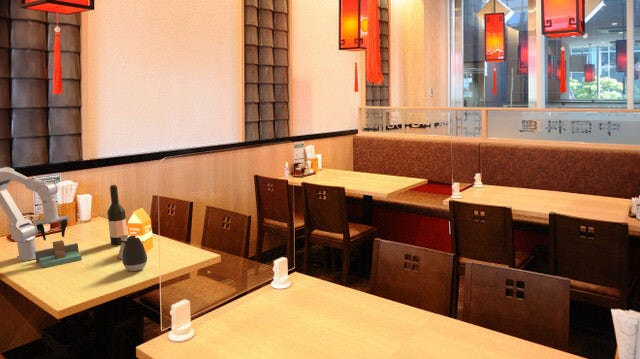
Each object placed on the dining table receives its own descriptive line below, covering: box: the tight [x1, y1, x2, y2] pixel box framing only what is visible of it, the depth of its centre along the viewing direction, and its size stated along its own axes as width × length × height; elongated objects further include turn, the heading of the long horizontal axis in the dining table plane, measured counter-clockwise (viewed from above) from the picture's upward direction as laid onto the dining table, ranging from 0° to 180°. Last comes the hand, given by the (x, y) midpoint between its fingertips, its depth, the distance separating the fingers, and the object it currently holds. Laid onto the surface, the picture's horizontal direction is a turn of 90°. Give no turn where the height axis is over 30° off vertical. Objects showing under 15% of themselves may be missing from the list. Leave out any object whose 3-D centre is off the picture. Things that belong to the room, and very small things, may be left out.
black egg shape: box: [121, 235, 148, 272], centre depth 220 cm, size 10×10×15 cm
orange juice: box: [126, 207, 154, 253], centre depth 245 cm, size 8×9×20 cm
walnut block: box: [52, 240, 66, 259], centre depth 234 cm, size 4×4×7 cm
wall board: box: [35, 243, 83, 269], centre depth 235 cm, size 12×18×5 cm, turn 127°
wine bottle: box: [106, 184, 128, 247], centre depth 256 cm, size 8×8×30 cm
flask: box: [117, 234, 128, 260], centre depth 237 cm, size 7×7×10 cm
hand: (54, 238), depth 235 cm, fingers open, 7 cm apart
